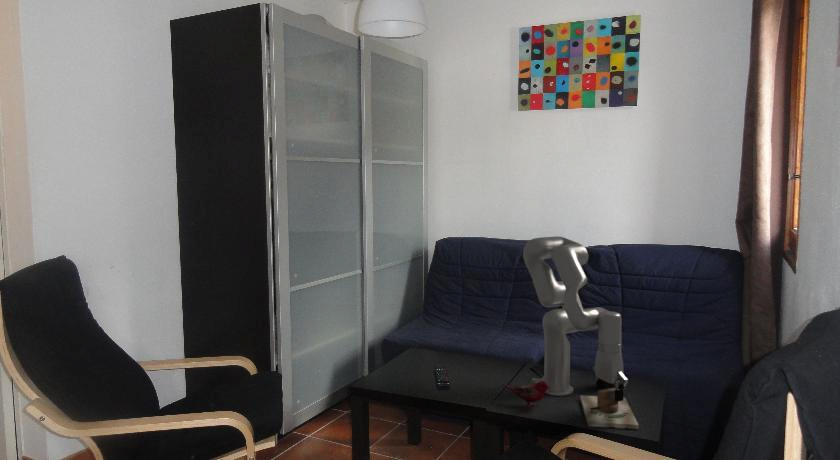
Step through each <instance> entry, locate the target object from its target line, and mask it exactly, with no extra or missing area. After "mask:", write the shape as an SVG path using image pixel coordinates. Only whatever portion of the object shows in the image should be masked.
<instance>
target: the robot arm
mask: <svg viewBox="0 0 840 460" xmlns="http://www.w3.org/2000/svg"><path fill="white" fill-rule="evenodd" d="M522 254H523V260H524V264H525V266H526V268H527V270H528V271H529V274H530V277H531V279H532V283H533V287H534V289H535V292H536V295H537V299H538V301H539V303H540V305H541V306H543V307H544V308H554V307H562V308H557V309H551V310H550V311H547V312H545V314H544V315H543V317H542V328H543V335H544V363H543V365H544V376H543V378H542V377H540V378H536V377H534V378H533V377H532V379H531V383H532V384H536V383H538V382H541V381H544V382H546V383H547V386H548V387H549V388H550V389H547V391H546V392H545V394H546V395H550V396H557V397H563V396H569V395H571V394H573V393H574V387H573V386H571V384H570V370H571V369H570V368H571V364H570V363H571V345H570V344H571V343H570V341H569V340H568V337H567V334H571V333H577V332H587V331H593V330H598V349H597V350H596V353H595V354H596V355H595V361H594V363H595V365H592V370H593V375H594V377H595V379H594V380H595V381H596V383H595V385H596V386H595V387H596V388H595V389H596V390H595V392H596V393H598V390H604V389H605V381H606V382H608V383H611V384H612V383H614V386H615V388H616V390H615V401H616V402H617V401H623V398H624V390H625V389H626V387H627V385H628V383H629V379H628V378H627V377H626V376H625V374H624V361H623V356H622V355H623V354H622V325H623V324H622V323H623V322H622V315H621V313H619V312H617V311H612V310H611V311H610V310H608V309H606V308H604V307H601V306H600V307H591V308H584V307H583V304H582V300H581V299H580V296H579V290H580V289H581V288H583V287H584V286H585V285H586V284H587V283H588V277H587V276H586V273H585V272H584V268H583V267H582V266H584V265H585V264H587V263H588V261H589V253H588V250H587V249H586V247H585V246H584V245H582V244H581V243H579V242H576V241H574V240H572V239H568V238H566V237H563V236H544V237H543V236H541V237H535V238H532V239H530V240H528V241H527V242H526V243H525V245H524V247H523V253H522ZM549 259H551V260H552V262H553V263H554V266H555V269H556V270H557V273H558V275H559V277H560V279H561V281H557V279H556V277H555V273H554V272H553V269H552V268H551V267H550V266H549V264H548V263H547V262H546V261H545V260H549ZM617 383H619V384H620V385H619V386H618V384H617Z"/></svg>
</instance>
